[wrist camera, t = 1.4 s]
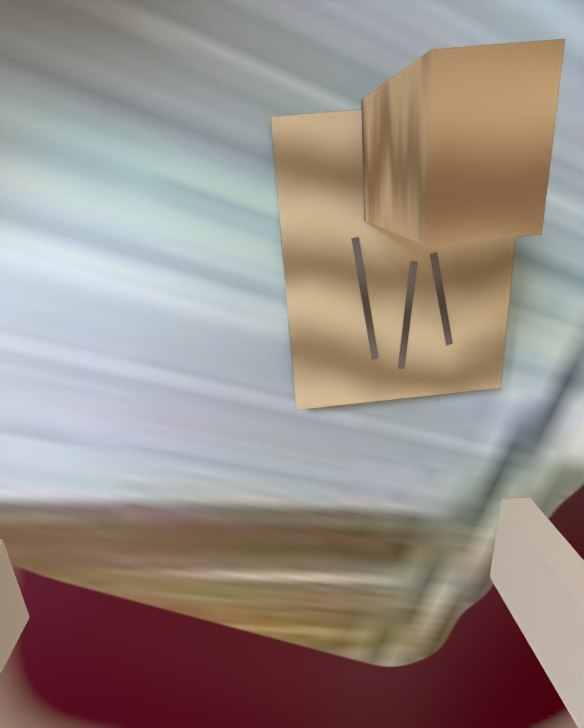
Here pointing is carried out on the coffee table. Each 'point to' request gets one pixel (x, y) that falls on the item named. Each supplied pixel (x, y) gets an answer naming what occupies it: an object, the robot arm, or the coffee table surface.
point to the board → (377, 283)
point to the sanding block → (463, 143)
